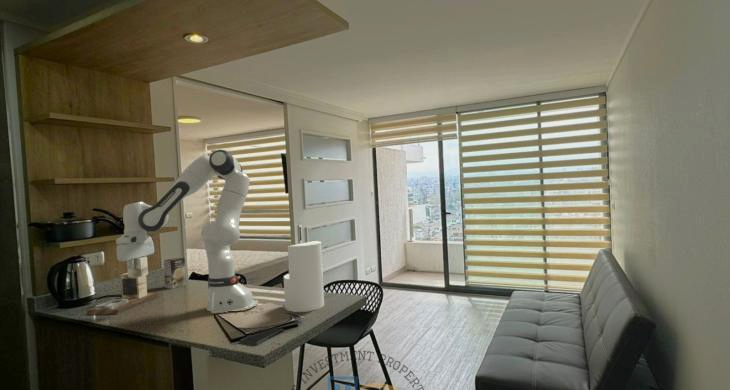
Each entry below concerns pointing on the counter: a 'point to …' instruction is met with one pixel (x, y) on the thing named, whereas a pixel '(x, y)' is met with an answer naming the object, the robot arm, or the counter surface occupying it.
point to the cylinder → (304, 278)
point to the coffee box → (174, 273)
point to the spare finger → (138, 267)
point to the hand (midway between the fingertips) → (137, 267)
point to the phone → (261, 337)
